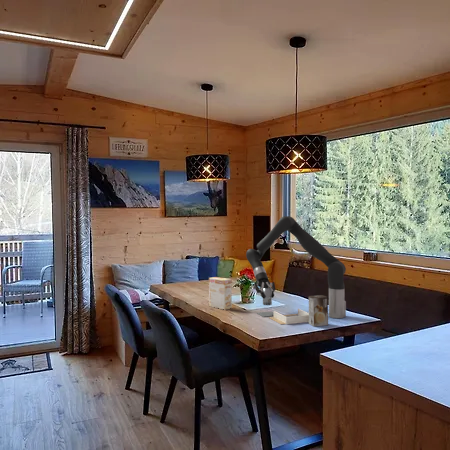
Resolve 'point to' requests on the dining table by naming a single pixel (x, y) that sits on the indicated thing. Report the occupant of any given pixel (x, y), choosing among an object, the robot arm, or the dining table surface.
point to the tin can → (267, 296)
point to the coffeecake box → (220, 293)
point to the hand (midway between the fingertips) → (268, 297)
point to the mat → (266, 314)
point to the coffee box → (318, 310)
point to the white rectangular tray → (293, 319)
